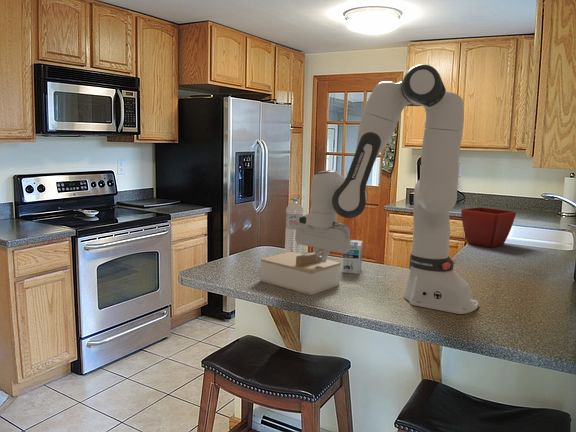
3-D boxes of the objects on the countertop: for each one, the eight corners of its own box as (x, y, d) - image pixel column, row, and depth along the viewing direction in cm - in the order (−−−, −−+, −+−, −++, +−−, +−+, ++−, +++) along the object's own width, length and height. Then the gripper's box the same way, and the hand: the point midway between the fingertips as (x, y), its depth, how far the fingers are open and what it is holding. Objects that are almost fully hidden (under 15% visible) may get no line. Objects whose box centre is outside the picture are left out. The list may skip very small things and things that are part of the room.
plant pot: (477, 238, 260) (480, 206, 257) (513, 245, 246) (517, 211, 243) (457, 242, 248) (460, 209, 245) (494, 250, 234) (497, 214, 231)
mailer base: (339, 285, 171) (340, 265, 170) (310, 295, 159) (311, 274, 158) (290, 272, 185) (290, 253, 184) (260, 281, 173) (260, 261, 172)
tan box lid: (340, 264, 170) (340, 254, 169) (311, 273, 158) (311, 262, 157) (290, 253, 184) (291, 243, 183) (260, 261, 172) (260, 250, 171)
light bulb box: (359, 274, 185) (361, 245, 184) (341, 272, 187) (343, 244, 185) (361, 267, 196) (363, 240, 194) (344, 265, 197) (345, 239, 195)
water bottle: (303, 258, 206) (306, 198, 202) (297, 262, 200) (299, 200, 196) (288, 256, 209) (290, 197, 205) (281, 260, 203) (283, 198, 199)
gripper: (355, 223, 158) (353, 266, 160) (304, 215, 171) (303, 254, 173) (344, 225, 153) (342, 269, 156) (293, 217, 166) (291, 257, 169)
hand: (321, 261), depth 165 cm, fingers closed
